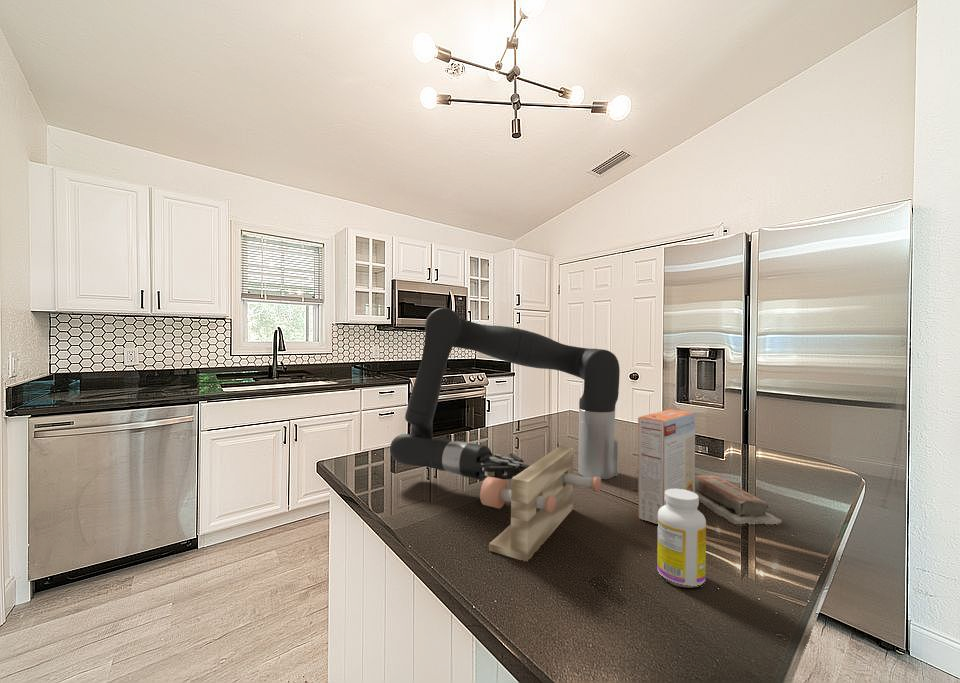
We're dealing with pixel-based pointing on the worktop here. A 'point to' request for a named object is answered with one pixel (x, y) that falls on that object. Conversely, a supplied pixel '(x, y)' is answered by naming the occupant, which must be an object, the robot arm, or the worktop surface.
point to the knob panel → (528, 520)
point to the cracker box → (664, 458)
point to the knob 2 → (583, 481)
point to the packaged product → (732, 501)
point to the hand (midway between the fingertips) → (537, 473)
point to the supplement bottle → (681, 539)
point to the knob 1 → (509, 495)
